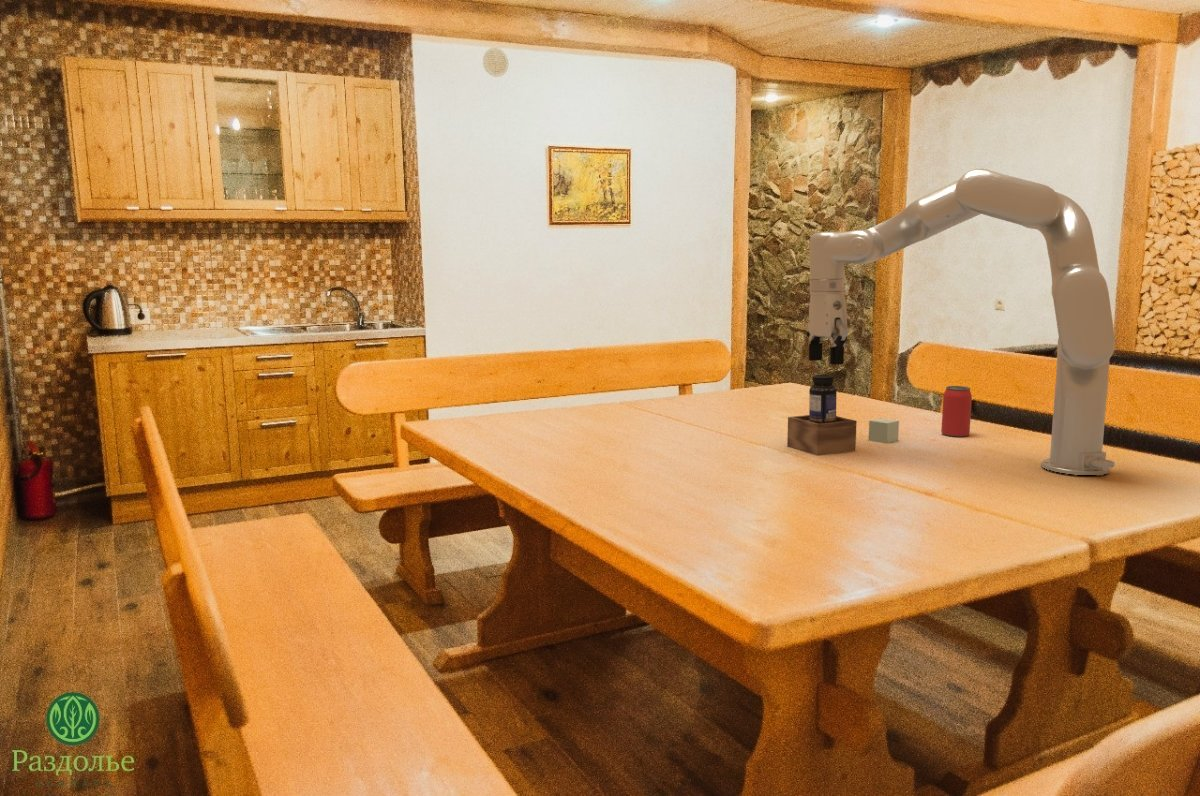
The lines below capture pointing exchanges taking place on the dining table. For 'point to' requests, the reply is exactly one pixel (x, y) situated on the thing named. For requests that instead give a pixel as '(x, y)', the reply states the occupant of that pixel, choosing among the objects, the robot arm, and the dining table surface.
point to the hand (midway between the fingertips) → (825, 362)
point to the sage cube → (883, 430)
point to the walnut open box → (821, 435)
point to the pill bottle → (822, 400)
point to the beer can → (956, 411)
